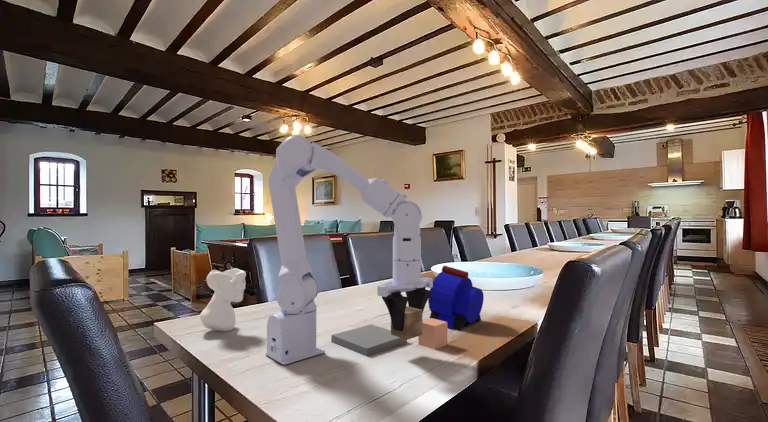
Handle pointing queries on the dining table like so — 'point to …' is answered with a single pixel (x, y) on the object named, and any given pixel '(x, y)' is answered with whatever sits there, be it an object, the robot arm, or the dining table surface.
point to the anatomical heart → (223, 299)
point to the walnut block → (410, 324)
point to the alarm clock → (455, 298)
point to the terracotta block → (433, 333)
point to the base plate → (367, 339)
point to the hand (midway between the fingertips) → (406, 327)
